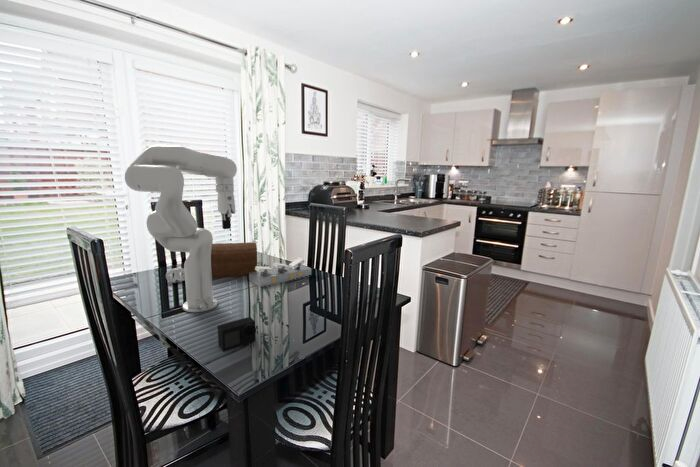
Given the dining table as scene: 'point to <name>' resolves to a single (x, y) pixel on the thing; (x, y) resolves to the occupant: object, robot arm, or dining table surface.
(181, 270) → the pendant light
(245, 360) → the dining table surface
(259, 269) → the rocker near
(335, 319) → the dining table surface
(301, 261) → the rocker far
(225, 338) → the digital camera
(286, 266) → the rocker mid
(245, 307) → the dining table surface
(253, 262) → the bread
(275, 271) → the console
